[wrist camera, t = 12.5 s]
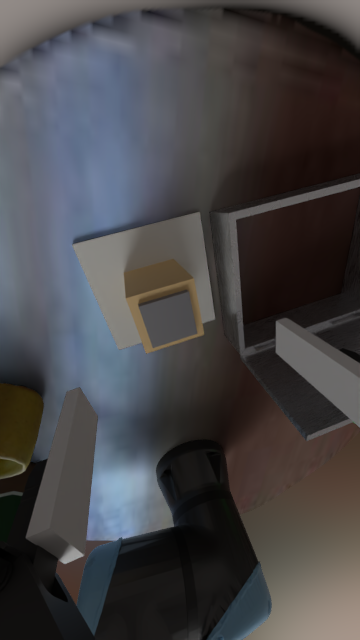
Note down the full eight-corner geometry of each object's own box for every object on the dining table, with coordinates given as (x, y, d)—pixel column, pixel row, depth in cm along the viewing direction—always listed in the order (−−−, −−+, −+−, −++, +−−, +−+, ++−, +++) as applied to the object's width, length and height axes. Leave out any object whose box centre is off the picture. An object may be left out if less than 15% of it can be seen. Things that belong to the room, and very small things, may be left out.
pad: (118, 347, 30) (118, 350, 29) (73, 243, 23) (71, 244, 22) (213, 317, 31) (215, 319, 31) (198, 211, 24) (199, 212, 24)
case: (225, 340, 34) (306, 442, 19) (209, 212, 25) (341, 221, 10) (351, 298, 36) (506, 359, 22) (379, 168, 27) (679, 125, 13)
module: (139, 317, 28) (146, 357, 20) (123, 272, 25) (125, 301, 17) (183, 303, 28) (206, 337, 21) (173, 258, 25) (196, 280, 18)
